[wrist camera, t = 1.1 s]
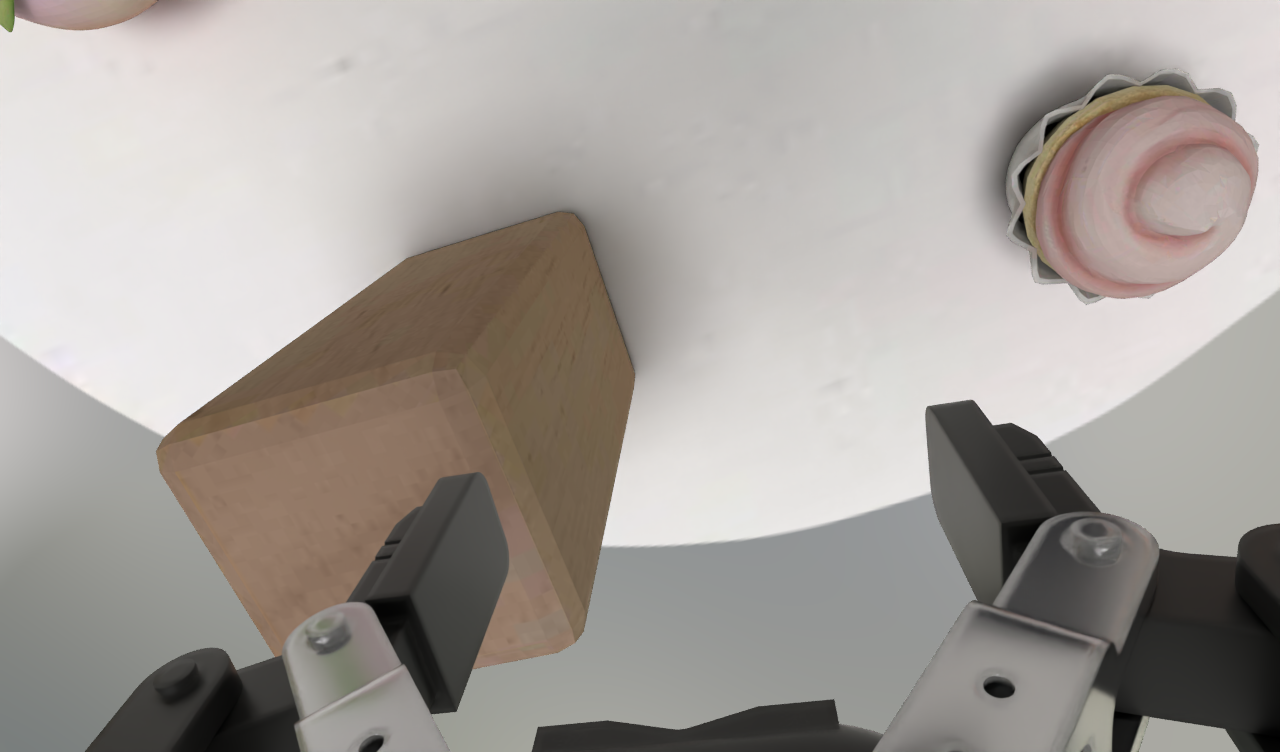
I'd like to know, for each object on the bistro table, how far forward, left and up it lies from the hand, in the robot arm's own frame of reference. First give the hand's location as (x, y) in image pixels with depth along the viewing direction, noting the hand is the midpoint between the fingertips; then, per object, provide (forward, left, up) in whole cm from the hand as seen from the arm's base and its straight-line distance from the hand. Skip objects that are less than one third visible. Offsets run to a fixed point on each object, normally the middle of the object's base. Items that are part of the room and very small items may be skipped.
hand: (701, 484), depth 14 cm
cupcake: (+5, +16, -25) cm, 30 cm away
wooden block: (+2, -11, -25) cm, 28 cm away
